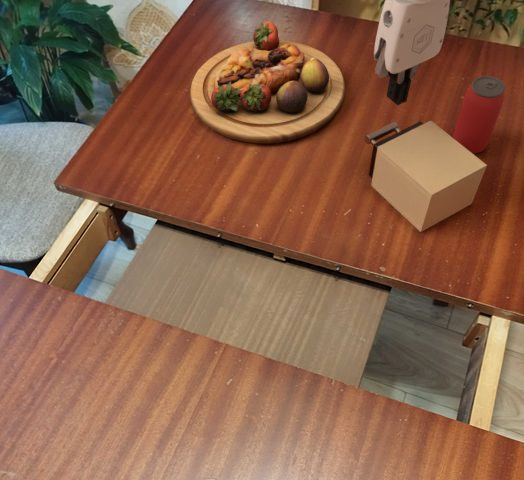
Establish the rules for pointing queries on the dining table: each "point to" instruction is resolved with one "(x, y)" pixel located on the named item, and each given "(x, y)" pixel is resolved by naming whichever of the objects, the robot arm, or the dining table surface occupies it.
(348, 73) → the dining table surface
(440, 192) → the tan box
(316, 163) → the dining table surface
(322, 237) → the dining table surface
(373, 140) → the dark brown piece
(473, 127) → the beer can
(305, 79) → the wooden plate
